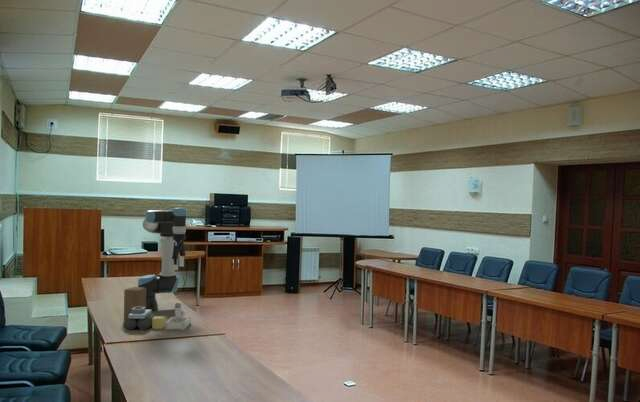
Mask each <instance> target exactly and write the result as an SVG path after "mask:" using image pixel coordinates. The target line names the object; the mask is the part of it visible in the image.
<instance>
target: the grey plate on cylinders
mask: <svg viewBox="0 0 640 402" xmlns="http://www.w3.org/2000/svg"><path fill="white" fill-rule="evenodd" d="M152 312H153V311H152V310H149V309H145V307H134V308H132V313H131V314H129V315H128V318H127V319H126V320H125V321H124V320H123V327H124V328H125V329H126V330H128V331H131V330H134V329H135V328H137V327H138V329H139V330H141V331H145V330H148V329H149V328H150V327H152V318H154V317H156V315H155V314H154V313H152Z"/></svg>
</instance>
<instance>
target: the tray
mask: <svg viewBox="0 0 640 402" xmlns="http://www.w3.org/2000/svg"><path fill="white" fill-rule="evenodd" d="M190 325H191V316H181V323H178V322H175V316H171V317H170V318H168V319H167V320H166V321H165V327H164V330H165V331H185V330H186V329H188V327H189V326H190Z"/></svg>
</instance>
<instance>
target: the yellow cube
mask: <svg viewBox="0 0 640 402" xmlns="http://www.w3.org/2000/svg"><path fill="white" fill-rule="evenodd" d="M165 322H166V317H165V316H155V317H154V318H152V325H151V329H155V330H156V329H165Z"/></svg>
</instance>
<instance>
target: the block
mask: <svg viewBox="0 0 640 402" xmlns="http://www.w3.org/2000/svg"><path fill="white" fill-rule="evenodd" d="M123 295H124V297H123V298H124V299H123V322H124V321H125V320H126V319H127V318H128V315H129V314H131V313H132V308H134V307H145V309H146V288H143V287H138V286H132V287H129V288H126V289H124V291H123Z"/></svg>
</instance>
